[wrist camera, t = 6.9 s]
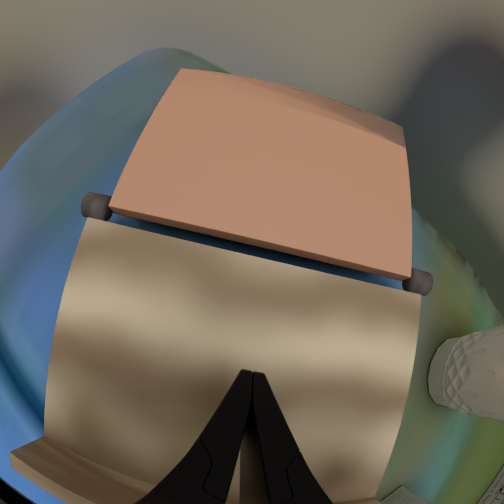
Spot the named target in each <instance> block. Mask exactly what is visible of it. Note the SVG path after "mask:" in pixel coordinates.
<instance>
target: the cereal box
mask: <svg viewBox="0 0 504 504" xmlns="http://www.w3.org/2000/svg"><path fill="white" fill-rule="evenodd" d="M502 503H504V465H503V467H502V468H501V470H500V472H499V473H498V475H497V476H496V478H495V479H494V481H493V482H492V484H491V485H490V486H489V488H488V489H487V491H486V492H485V493H484V495H483V496H482V497H481V499H480V500H479V501H478V503H477V504H502Z"/></svg>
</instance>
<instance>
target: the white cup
mask: <svg viewBox="0 0 504 504" xmlns="http://www.w3.org/2000/svg"><path fill="white" fill-rule="evenodd" d="M428 388H429V394H430V396H431V397H432V399H433V401H434V402H435V403H436V404H439V405H442V406H446V407H450V408H453V409H455V410H457V411H459V412H463V413H466V414H469V415H473V416H478V417H482V418H487V419H491V420H496V421H501V422H504V325H503V326H499V327H495V328H490V329H486V330H482V331H479V332H473V333H470V334H469V335H464V336H458V337H454V338H449V339H447V340H446V341H445V342H444V343H443V344H442V345H441V346H440V347H438V349H437V351H436V353H435V355H434V357H433V359H432V361H431V363H430V369H429V374H428Z"/></svg>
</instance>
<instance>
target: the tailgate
mask: <svg viewBox="0 0 504 504" xmlns="http://www.w3.org/2000/svg"><path fill="white" fill-rule="evenodd" d="M409 183H410V182H409V173H408V162H407V154H406V147H405V140H404V134H403V128H402V127H401V126H399V125H397V124H395V123H393V122H390V121H388V120H386V119H384V118H381V117H379V116H376V115H374V114H372V113H369V112H367V111H364V110H361V109H359V108H356V107H353V106H351V105H348V104H345V103H342V102H340V101H336V100H333V99H331V98H327V97H324V96H321V95H318V94H315V93H311V92H308V91H304V90H300V89H297V88H293V87H289V86H285V85H281V84H277V83H273V82H268V81H263V80H259V79H254V78H249V77H243V76H238V75H232V74H226V73H219V72H211V71H203V70H193V69H182V68H181V69H180V71H179V72H178V74H177V75H176V77H175V78H174V80H173V81H172V83H171V84H170V86H169V87H168V89H167V91H166V92H165V94H164V95H163V97H162V99H161V100H160V102H159V104H158V105H157V107H156V109H155V110H154V112H153V114H152V116H151V117H150V119H149V121H148V123H147V125H146V126H145V128H144V130H143V132H142V134H141V136H140V138H139V140H138V142H137V143H136V145H135V147H134V149H133V151H132V153H131V155H130V158H129V160H128V162H127V164H126V166H125V168H124V170H123V172H122V175H121V177H120V179H119V181H118V184H117V186H116V188H115V191H114V193H113V195H112V198H111V200H110V203H109V205H108V206H109V207H110V208H111V210H112V211H113V212H114V213H115V214H119V215H123V216H127V217H132V218H136V219H141V220H145V221H150V222H154V223H158V224H163V225H167V226H172V227H176V228H180V229H185V230H189V231H193V232H198V233H202V234H206V235H211V236H215V237H219V238H224V239H228V240H232V241H236V242H241V243H245V244H249V245H254V246H258V247H262V248H266V249H271V250H275V251H279V252H283V253H288V254H292V255H296V256H300V257H304V258H309V259H313V260H317V261H321V262H325V263H329V264H334V265H338V266H342V267H346V268H350V269H354V270H359V271H363V272H367V273H371V274H375V275H379V276H383V277H387V278H391V279H395V280H400V281H401V280H404V279H407V278H410V277H411V264H412V215H411V196H410V184H409Z"/></svg>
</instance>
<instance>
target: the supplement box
mask: <svg viewBox="0 0 504 504" xmlns="http://www.w3.org/2000/svg"><path fill="white" fill-rule="evenodd" d="M380 502H381V503H382V504H431V503H429V502H428V501H426V500H424V499H423V498H421V497H419V496H418V495H416V494H415V493H413V492H411V491H410V490H408V489H407V488H405V487H404V486H401V487H399V488H398V489H397V490H395V491H394V492H393V493H391V494H390V495H389V496H387V497H386V498H385V499H383V500H382V501H380Z"/></svg>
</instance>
